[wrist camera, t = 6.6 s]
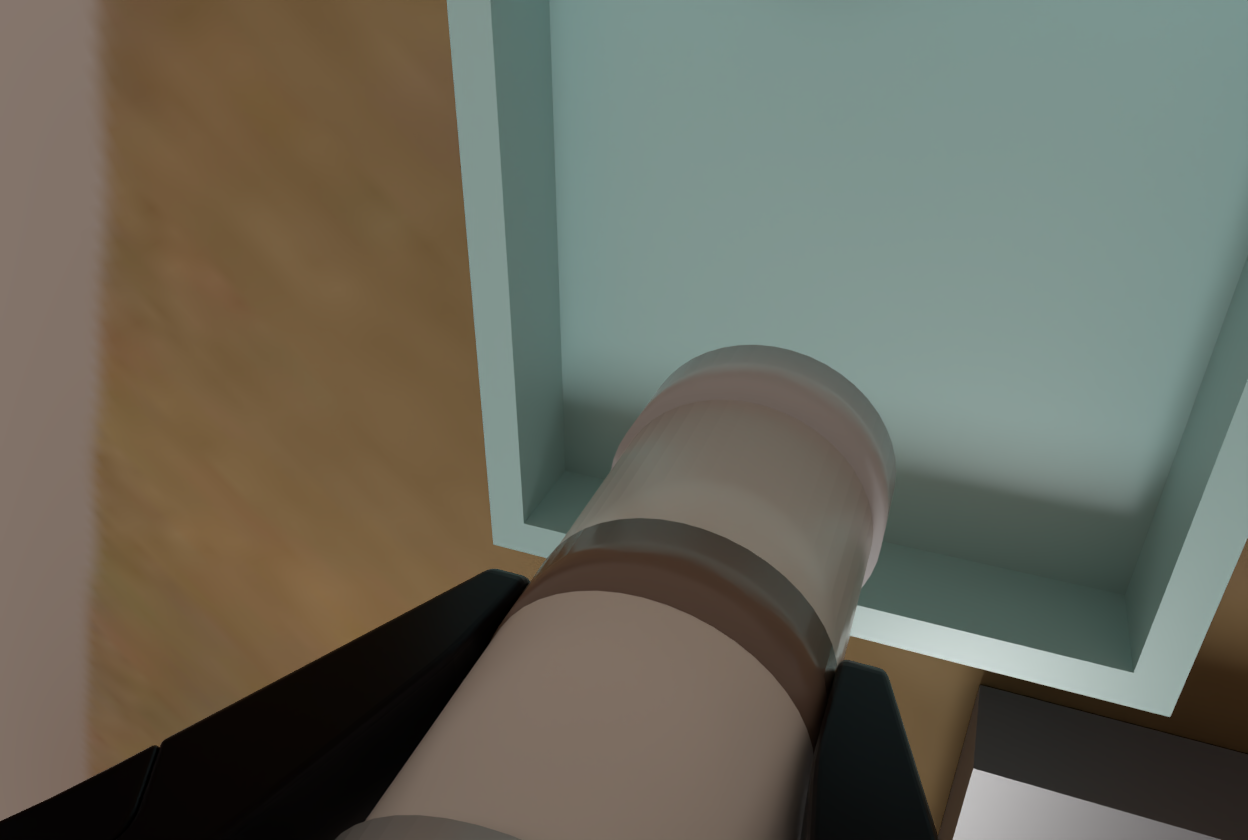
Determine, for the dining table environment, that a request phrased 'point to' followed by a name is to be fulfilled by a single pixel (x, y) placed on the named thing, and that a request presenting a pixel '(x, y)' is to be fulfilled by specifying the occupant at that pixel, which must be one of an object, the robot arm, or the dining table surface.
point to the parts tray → (893, 286)
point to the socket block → (1088, 779)
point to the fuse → (672, 626)
